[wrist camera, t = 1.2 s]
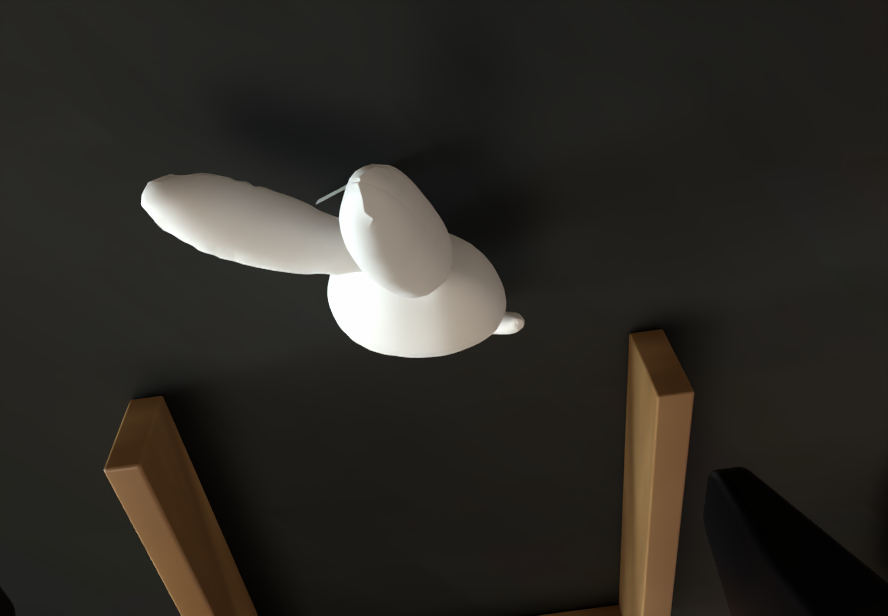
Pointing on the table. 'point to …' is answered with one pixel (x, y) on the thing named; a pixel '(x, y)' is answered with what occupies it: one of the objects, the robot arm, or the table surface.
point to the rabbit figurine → (350, 255)
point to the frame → (639, 612)
